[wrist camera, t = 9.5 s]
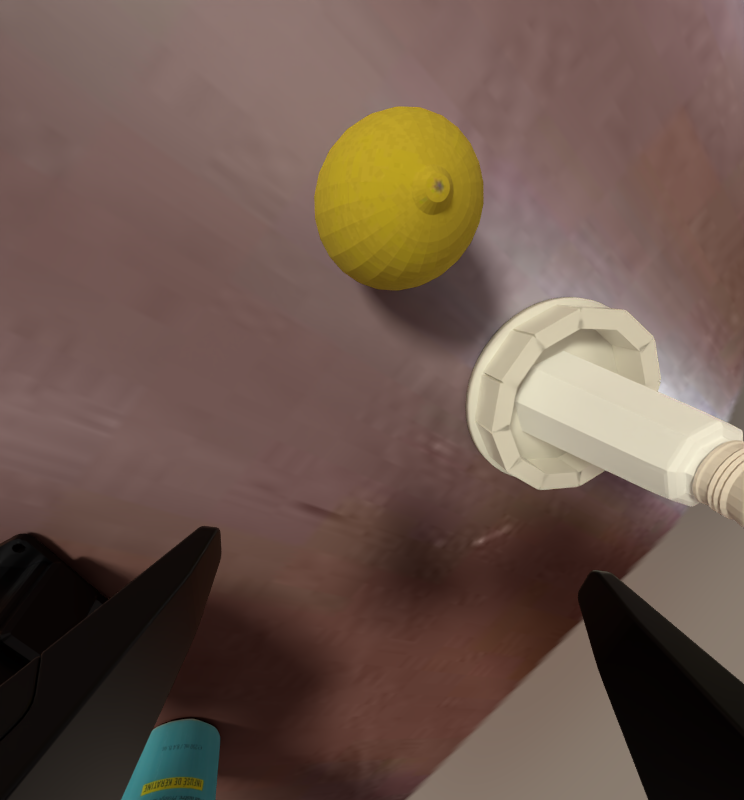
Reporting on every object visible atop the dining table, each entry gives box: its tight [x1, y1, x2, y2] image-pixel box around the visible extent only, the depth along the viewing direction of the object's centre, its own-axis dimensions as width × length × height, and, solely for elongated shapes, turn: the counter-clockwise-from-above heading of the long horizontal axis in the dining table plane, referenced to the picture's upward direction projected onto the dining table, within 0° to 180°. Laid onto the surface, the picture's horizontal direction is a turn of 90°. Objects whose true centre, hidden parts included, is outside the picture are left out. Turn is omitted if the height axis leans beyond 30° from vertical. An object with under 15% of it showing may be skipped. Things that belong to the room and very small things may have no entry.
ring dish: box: [465, 297, 661, 490], centre depth 21 cm, size 11×11×2 cm
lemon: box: [314, 107, 483, 291], centre depth 13 cm, size 6×6×8 cm
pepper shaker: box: [514, 351, 744, 528], centre depth 17 cm, size 5×5×11 cm
